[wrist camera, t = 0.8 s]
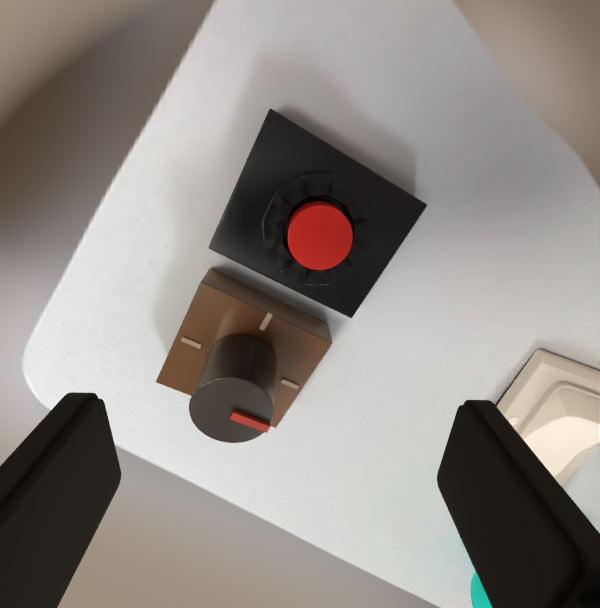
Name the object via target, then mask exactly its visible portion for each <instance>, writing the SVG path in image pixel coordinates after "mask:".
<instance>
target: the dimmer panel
mask: <svg viewBox="0 0 600 608" xmlns="http://www.w3.org/2000/svg"><path fill="white" fill-rule="evenodd" d="M234 334H246V335H251V336H254V337H257V338H259V339H261V340H262V341H264V342H265V343H266V344H268V345H269V347H270V348H271V349H272V351H273V352H274V354H275V357H276V361H277V369H276V386H275V404H274V416H273V420H272V422H271V426H272V427H275V428H276V427H277V425H278V424H279V422H280V421H281V419H282V418H283V416H284V415H285V413H286V412H287V410H288V409H289V407H290V406H291V404H292V403H293V401H294V400H295V398H296V397H297V395H298V394H299V392H300V391H301V389H302V388H303V386H304V385H305V383H306V382H307V380H308V379H309V377H310V376H311V374H312V373H313V371H314V370H315V368H316V367H317V365H318V364H319V362H320V361H321V359H322V358H323V356H324V355H325V353H326V352H327V350H328V349H329V347H330V346H331V344H332V339H331V335H330V330H329V326H328V324H327V323H325V322H323V321H321V320H319V319H317V318H315V317H313V316H311V315H308V314H306V313H304V312H302V311H300V310H298V309H296V308H294V307H292V306H290V305H287V304H285V303H283V302H281V301H279V300H277V299H275V298H273V297H271V296H269V295H266V294H264V293H262V292H260V291H258V290H256V289H254V288H252V287H250V286H248V285H246V284H243V283H241V282H239V281H237V280H235V279H233V278H231V277H229V276H227V275H225V274H222V273H220V272H218V271H216V270H214V269H212V268H210V269H209V271H208V272H207V274H206V275H205V277H204V278H203V280H202V281H201V283H200V285H199V287H198V289H197V292H196V294H195V296H194V298H193V300H192V303H191V305H190V307H189V309H188V312H187V314H186V316H185V318H184V320H183V323H182V325H181V327H180V329H179V332H178V334H177V336H176V338H175V340H174V343H173V345H172V347H171V349H170V352H169V354H168V356H167V358H166V360H165V363H164V365H163V367H162V369H161V372H160V374H159V376H158V378H157V380H156V382H157V383H160V384H162V385H165V386H168V387H170V388H173V389H175V390H178V391H181V392H183V393H186V394H189V395H191V396H192V394H193V392H194V389H195V387H196V384H197V382H198V379H199V377H200V374H201V372H202V369H203V367H204V364H205V362H206V359H207V357H208V354H209V352H210V350H211V348H212V347H213V345H214V344H215V343H216V342H218V341H219V340H221V339H222V338H224V337H227V336H230V335H234Z"/></svg>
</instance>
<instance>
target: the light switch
mask: <svg viewBox="0 0 600 608" xmlns="http://www.w3.org/2000/svg"><path fill="white" fill-rule="evenodd" d="M496 407H497V408H498V409H499V410H500V412H501V413H502V414H503V415H504V417H505V418H506V419H507V420H508V422H509V423H510V424H511V425H512V426H513V428H514V429H515V430H516V431H517V433H518V434H519V435H520V436H521V438H522V439H523V440H524V441H525V442H526V444H527V445H528V446H529V447H530V449H531V450H532V451H533V452H534V454H535V455H536V456H537V457H538V458H539V460H540V461H541V462H542V463H543V465H544V466H545V467H546V468H547V469H548V471H549V472H550V473H551V474H552V476H553V477H554V478H555V479H556V481H557V482H558V483H559V484H560V485H561V487H562V486H563V485H564V484H565V483H566V482H567V480H568V479H569V478H570V477H571V476H572V475H573V473H574V472H575V471H576V470H577V469H578V468H579V467H580V465H581V464H582V463H583V462H584V461H585V460H586V459H587V457H588V456H589V455H590V454H591V453H592V452H593V451H594V449H595V448H596V447H597V446H598V445H599V444H600V371H598V370H595V369H592V368H590V367H587V366H584V365H582V364H579V363H576V362H574V361H571V360H568V359H565V358H563V357H560V356H557V355H555V354H552V353H549V352H547V351H544V350H541V349H538V350H536V351H535V353H534V354H533V355H532V357H531V358H530V360H529V361H528V362H527V364H526V365H525V367H524V368H523V370H522V371H521V372H520V374H519V375H518V377H517V378H516V379H515V381H514V382H513V384H512V385H511V387H510V388H509V389H508V391H507V392H506V394H505V395H504V396H503V398H502V399H501V401H500V402H499V404H498V405H497V406H496Z"/></svg>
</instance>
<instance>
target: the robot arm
mask: <svg viewBox="0 0 600 608" xmlns="http://www.w3.org/2000/svg"><path fill="white" fill-rule="evenodd" d="M120 479H121V470H120V466H119V462H118V458H117V453H116V449H115V445H114V441H113V437H112V433H111V429H110V425H109V420H108V416H107V412H106V408H105V404H104V401H103V400H102V399H98V397H97V395H96V394H95V393H68V394H66V395H65V396H64V397H63V398H62V399H61V400H60V401H59V403H58V404H57V405H56V406H55V407H54V408H53V409H52V410H51V411H50V413H49V414H48V415H47V416H46V417H45V418H44V419H43V420H42V421H41V422H40V423H39V424H38V426H37V427H36V428H35V429H34V430H33V431H32V432H31V433H30V434H29V436H28V437H27V438H26V439H25V440H24V441H23V442H22V443H21V444H20V445H19V446H18V448H17V449H16V450H15V451H14V452H13V453H12V454H11V455H10V456H9V457H8V458H7V459H6V461H5V462H4V463H3V464H2V465H1V466H0V608H57V607H58V605H59V603H60V601H61V599H62V597H63V595H64V593H65V591H66V589H67V587H68V585H69V583H70V581H71V579H72V577H73V575H74V573H75V571H76V569H77V567H78V565H79V563H80V562H81V559H82V558H83V556H84V554H85V551H86V550H87V548H88V546H89V544H90V542H91V540H92V538H93V536H94V534H95V532H96V530H97V528H98V526H99V524H100V522H101V520H102V518H103V516H104V514H105V512H106V510H107V508H108V506H109V504H110V502H111V500H112V498H113V496H114V494H115V492H116V490H117V488H118V486H119V483H120ZM437 482H438V487H439V489H440V492H441V494H442V496H443V498H444V501H445V503H446V505H447V507H448V510H449V512H450V514H451V516H452V519H453V521H454V523H455V525H456V528H457V530H458V532H459V534H460V537H461V539H462V541H463V543H464V546H465V548H466V550H467V552H468V555H469V557H470V559H471V561H472V564H473V566H474V568H475V570H476V573H477V575H478V577H479V579H480V581H481V584H482V586H483V588H484V590H485V593H486V595H487V597H488V599H489V602H490V604H491V606H492V608H600V533H599V532H598V531H597V530H596V529H595V527H594V526H593V525H592V524H591V522H590V521H589V520H588V519H587V517H586V516H585V515H584V514H583V513H582V511H581V510H580V509H579V508H578V506H577V505H576V504H575V503H574V501H573V500H572V499H571V498H570V497H569V495H568V494H567V493H566V492H565V490H564V489H563V488H562V487H561V485H560V484H559V483H558V482H557V481H556V479H555V478H554V477H553V476H552V474H551V473H550V472H549V471H548V469H547V468H546V467H545V466H544V465H543V463H542V462H541V461H540V460H539V458H538V457H537V456H536V455H535V454H534V452H533V451H532V450H531V449H530V447H529V446H528V445H527V444H526V442H525V441H524V440H523V439H522V438H521V436H520V435H519V434H518V433H517V431H516V430H515V429H514V428H513V426H512V425H511V424H510V423H509V422H508V420H507V419H506V418H505V417H504V415H503V414H502V413H501V412H500V410H499V409H498V408H497V407H496V406H495V404H494V403H493V402H491V401H489V400H467V401H466V402H465V403H464V405H461V406H459V408H458V410H457V413H456V416H455V419H454V423H453V426H452V429H451V432H450V435H449V439H448V442H447V445H446V448H445V452H444V455H443V458H442V461H441V464H440V468H439V471H438V475H437Z"/></svg>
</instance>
